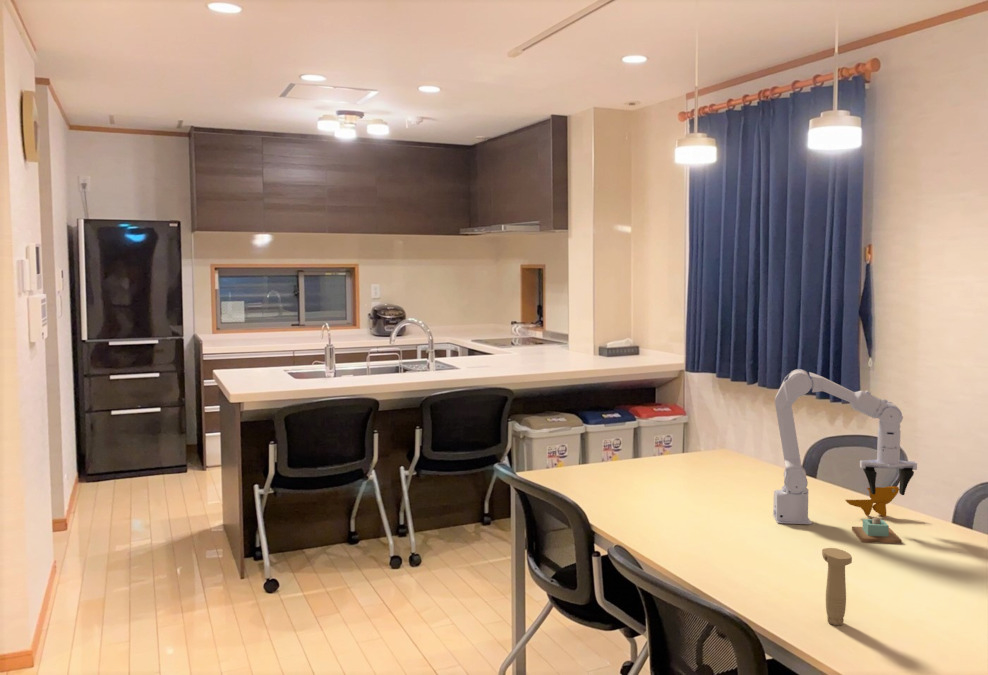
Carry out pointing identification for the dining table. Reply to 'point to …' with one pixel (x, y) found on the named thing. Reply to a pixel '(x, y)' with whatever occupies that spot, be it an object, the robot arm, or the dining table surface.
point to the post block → (884, 539)
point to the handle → (836, 584)
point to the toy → (876, 500)
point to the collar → (875, 528)
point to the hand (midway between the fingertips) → (887, 493)
